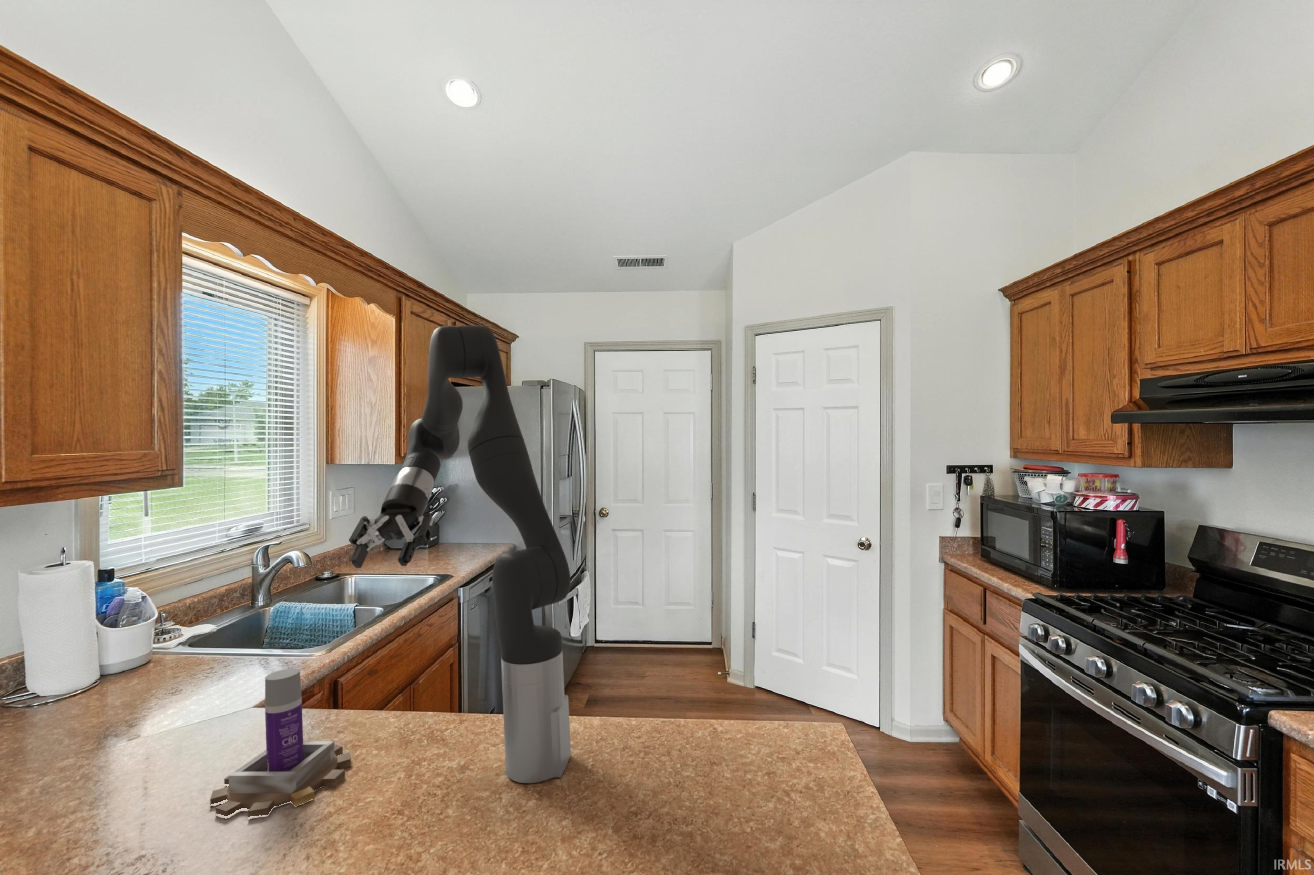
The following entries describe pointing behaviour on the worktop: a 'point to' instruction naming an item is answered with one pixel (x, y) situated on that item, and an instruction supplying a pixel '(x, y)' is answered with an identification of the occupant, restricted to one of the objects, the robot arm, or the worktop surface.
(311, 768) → the sprocket
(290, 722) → the container
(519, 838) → the worktop surface
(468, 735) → the worktop surface
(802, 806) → the worktop surface
